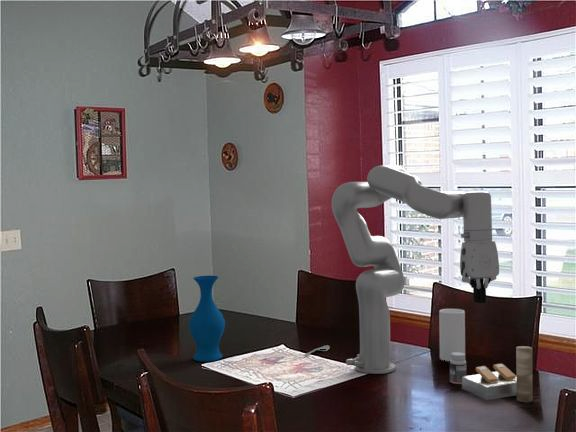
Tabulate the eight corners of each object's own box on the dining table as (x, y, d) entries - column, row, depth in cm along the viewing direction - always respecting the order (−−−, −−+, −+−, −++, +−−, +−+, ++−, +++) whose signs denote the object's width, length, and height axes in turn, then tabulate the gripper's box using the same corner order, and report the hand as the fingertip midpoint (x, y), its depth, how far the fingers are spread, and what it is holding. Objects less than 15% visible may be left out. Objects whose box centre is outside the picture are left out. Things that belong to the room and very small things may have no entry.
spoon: (333, 350, 236) (333, 345, 236) (296, 362, 221) (296, 358, 220) (323, 348, 239) (323, 344, 239) (287, 361, 223) (287, 356, 223)
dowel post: (523, 403, 174) (523, 350, 174) (513, 398, 178) (513, 347, 177) (535, 401, 176) (535, 348, 175) (525, 396, 179) (525, 345, 179)
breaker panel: (487, 400, 177) (487, 383, 177) (462, 388, 187) (461, 373, 187) (528, 393, 182) (528, 377, 182) (502, 382, 193) (502, 367, 192)
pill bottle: (447, 379, 196) (447, 352, 196) (463, 379, 197) (462, 351, 196) (452, 384, 192) (452, 356, 191) (468, 383, 192) (468, 355, 192)
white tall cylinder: (465, 362, 215) (465, 313, 215) (440, 361, 217) (439, 312, 216) (464, 355, 223) (464, 308, 223) (439, 355, 225) (438, 308, 224)
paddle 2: (506, 379, 183) (507, 376, 182) (492, 367, 188) (493, 364, 187) (515, 378, 184) (515, 375, 183) (501, 366, 189) (502, 363, 188)
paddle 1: (488, 382, 180) (489, 379, 180) (475, 370, 186) (476, 366, 185) (497, 381, 181) (498, 378, 181) (484, 368, 187) (484, 365, 186)
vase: (232, 355, 230) (230, 275, 229) (213, 365, 218) (211, 280, 217) (202, 352, 235) (200, 274, 234) (182, 361, 223) (180, 279, 222)
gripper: (463, 238, 176) (465, 307, 177) (509, 235, 182) (511, 301, 182) (447, 237, 183) (449, 303, 184) (491, 234, 189) (493, 298, 189)
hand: (479, 302), depth 183 cm, fingers closed
